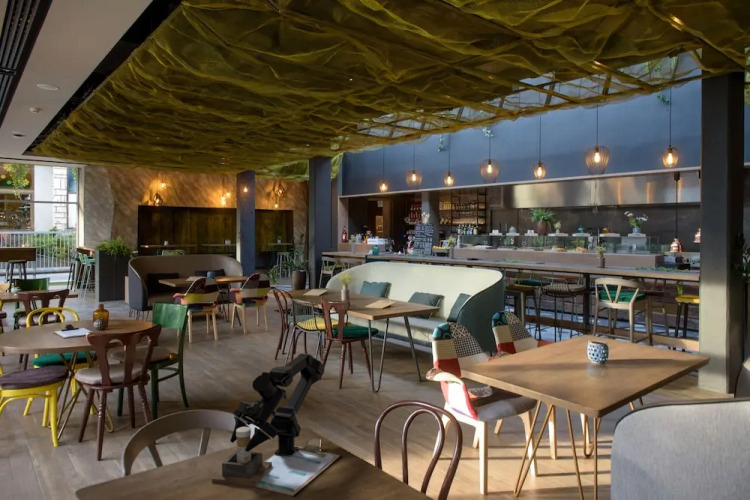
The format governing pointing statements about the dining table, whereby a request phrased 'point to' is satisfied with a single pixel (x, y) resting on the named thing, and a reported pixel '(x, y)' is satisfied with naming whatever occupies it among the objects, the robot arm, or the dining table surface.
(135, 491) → the dining table surface
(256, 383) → the robot arm
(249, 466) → the socket board
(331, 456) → the dining table surface
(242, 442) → the sprinkles bottle
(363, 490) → the dining table surface
